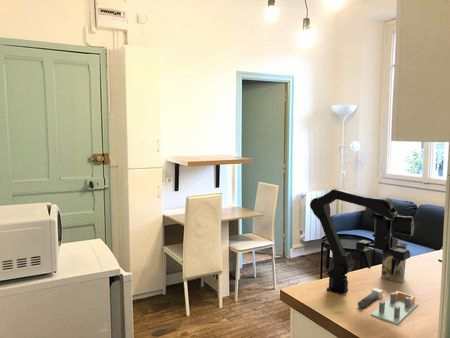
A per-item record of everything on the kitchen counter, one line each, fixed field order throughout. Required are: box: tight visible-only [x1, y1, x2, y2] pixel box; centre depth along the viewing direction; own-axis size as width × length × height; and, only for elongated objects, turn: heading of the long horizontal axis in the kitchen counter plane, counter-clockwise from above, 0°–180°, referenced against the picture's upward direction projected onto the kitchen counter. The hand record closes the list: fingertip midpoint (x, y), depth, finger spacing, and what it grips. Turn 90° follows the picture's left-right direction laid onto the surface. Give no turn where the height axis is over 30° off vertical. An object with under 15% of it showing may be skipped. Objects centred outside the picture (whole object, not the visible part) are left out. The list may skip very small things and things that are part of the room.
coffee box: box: [380, 241, 408, 283], centre depth 164 cm, size 9×6×16 cm
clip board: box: [370, 290, 419, 325], centre depth 134 cm, size 9×21×4 cm, turn 136°
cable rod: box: [357, 287, 384, 309], centre depth 141 cm, size 3×17×2 cm, turn 136°
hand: (380, 271), depth 140 cm, fingers open, 9 cm apart
